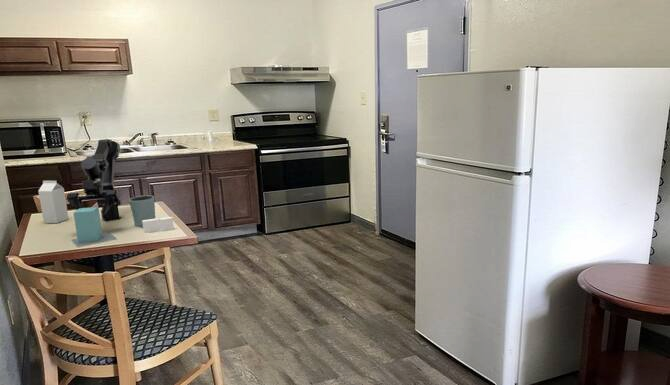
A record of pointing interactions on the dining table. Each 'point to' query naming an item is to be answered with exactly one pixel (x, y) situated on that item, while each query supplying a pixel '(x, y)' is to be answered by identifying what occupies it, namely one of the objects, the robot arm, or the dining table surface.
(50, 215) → the milk carton
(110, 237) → the slate mat
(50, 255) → the dining table surface
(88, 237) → the teal rectangular block
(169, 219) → the napkin holder
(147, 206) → the teal tapered cup
